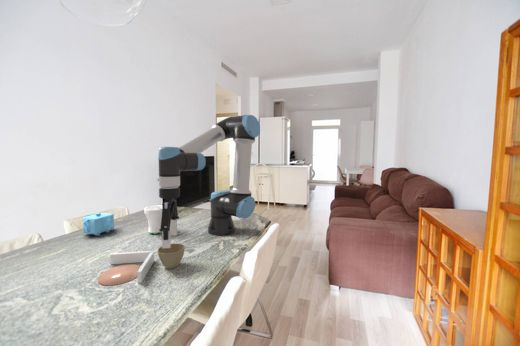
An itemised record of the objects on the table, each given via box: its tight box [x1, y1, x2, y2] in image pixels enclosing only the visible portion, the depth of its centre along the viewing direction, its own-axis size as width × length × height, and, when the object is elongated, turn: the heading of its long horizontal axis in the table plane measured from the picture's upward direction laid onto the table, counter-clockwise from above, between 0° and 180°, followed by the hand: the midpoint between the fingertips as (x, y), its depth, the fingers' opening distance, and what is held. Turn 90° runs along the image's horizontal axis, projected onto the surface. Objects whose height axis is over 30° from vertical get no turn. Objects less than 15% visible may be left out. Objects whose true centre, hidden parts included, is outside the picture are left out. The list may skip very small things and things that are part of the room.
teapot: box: [82, 212, 115, 237], centre depth 127 cm, size 16×18×11 cm
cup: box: [143, 204, 162, 236], centre depth 128 cm, size 11×11×14 cm
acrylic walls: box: [109, 250, 155, 284], centre depth 86 cm, size 16×17×4 cm
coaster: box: [97, 263, 142, 286], centre depth 84 cm, size 14×14×1 cm
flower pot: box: [157, 243, 186, 270], centre depth 91 cm, size 10×10×7 cm
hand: (170, 241), depth 90 cm, fingers open, 13 cm apart
